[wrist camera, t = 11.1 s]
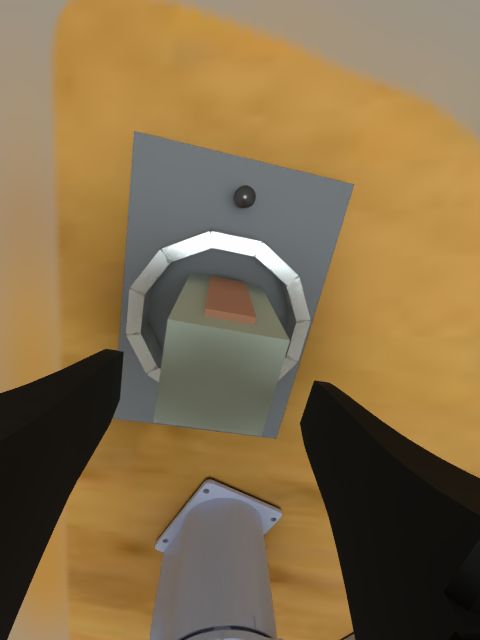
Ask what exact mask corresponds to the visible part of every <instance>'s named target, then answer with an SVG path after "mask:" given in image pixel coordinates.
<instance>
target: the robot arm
mask: <svg viewBox="0 0 480 640" xmlns="http://www.w3.org/2000/svg"><path fill="white" fill-rule="evenodd" d="M123 355H124V352H122V351H116V350H109V349H105V350H102V351H100V352H98V353H96V354H94V355H92V356H89V357H87V358H85V359H83V360H81V361H79V362H77V363H75V364H73V365H71V366H68V367H66V368H64V369H62V370H60V371H57V372H55V373H53V374H50V375H48V376H46V377H43V378H41V379H38V380H36V381H34V382H31V383H29V384H26V385H23V386H21V387H18V388H15V389H12V390H9V391H6V392H3V393H0V640H7V639H8V636H9V633H10V631H11V629H12V626H13V624H14V621H15V619H16V616H17V614H18V611H19V609H20V607H21V604H22V602H23V600H24V597H25V595H26V593H27V590H28V588H29V585H30V583H31V581H32V578H33V576H34V574H35V571H36V569H37V567H38V564H39V562H40V560H41V557H42V555H43V553H44V551H45V548H46V546H47V544H48V541H49V539H50V537H51V535H52V532H53V530H54V528H55V526H56V524H57V521H58V519H59V517H60V515H61V513H62V511H63V508H64V506H65V504H66V502H67V500H68V497H69V495H70V493H71V492H72V490H73V488H74V486H75V484H76V482H77V480H78V479H79V477H80V475H81V473H82V472H83V470H84V468H85V466H86V465H87V463H88V461H89V460H90V458H91V456H92V454H93V453H94V451H95V449H96V448H97V446H98V444H99V442H100V441H101V439H102V437H103V435H104V434H105V432H106V430H107V428H108V427H109V425H110V423H111V420H112V418H113V416H114V413H115V411H116V408H117V406H118V403H119V401H120V393H121V381H122V368H123ZM300 426H301V431H302V437H303V441H304V446H305V449H306V452H307V455H308V458H309V461H310V464H311V467H312V470H313V473H314V475H315V478H316V481H317V484H318V487H319V490H320V492H321V495H322V498H323V501H324V504H325V507H326V510H327V513H328V516H329V520H330V524H331V528H332V532H333V536H334V540H335V544H336V548H337V552H338V557H339V561H340V566H341V570H342V575H343V579H344V584H345V589H346V594H347V599H348V604H349V609H350V614H351V620H352V625H353V630H354V636H355V640H480V478H478V477H476V476H474V475H472V474H470V473H468V472H466V471H464V470H462V469H460V468H458V467H456V466H454V465H452V464H450V463H449V462H447V461H445V460H443V459H441V458H439V457H438V456H436V455H434V454H432V453H430V452H429V451H427V450H425V449H424V448H422V447H421V446H419V445H417V444H416V443H414V442H412V441H411V440H409V439H407V438H406V437H404V436H403V435H401V434H400V433H398V432H397V431H395V430H394V429H393V428H391V427H390V426H388V425H387V424H385V423H384V422H383V421H381V420H380V419H378V418H377V417H376V416H374V415H373V414H372V413H370V412H369V411H368V410H366V409H365V408H364V407H362V406H361V405H360V404H358V403H357V402H356V401H354V400H353V399H352V398H350V397H349V396H348V395H347V394H345V393H344V392H342V391H341V390H340V389H338V388H337V387H335V386H334V385H332V384H330V383H328V382H321V381H314V383H313V386H312V389H311V392H310V395H309V398H308V401H307V404H306V407H305V410H304V413H303V416H302V419H301V422H300ZM281 517H282V512H281V510H280V509H278V508H276V507H274V506H271V505H269V504H267V503H264V502H262V501H260V500H258V499H255V498H253V497H251V496H248V495H246V494H244V493H241V492H239V491H237V490H235V489H232V488H230V487H228V486H225V485H223V484H221V483H218V482H216V481H214V480H211V479H208V480H206V481H205V482H204V483H203V484H202V485H201V486H200V488H199V489H198V490H197V491H196V493H195V494H194V495H193V496H192V498H191V499H190V500H189V501H188V503H187V504H186V505H185V506H184V508H183V509H182V510H181V511H180V513H179V514H178V515H177V516H176V518H175V519H174V520H173V521H172V523H171V524H170V525H169V526H168V528H167V529H166V530H165V531H164V533H163V534H162V535H161V536H160V537H159V539H158V540H157V541H156V543H155V549H156V550H158V551H161V552H164V553H163V559H162V565H161V571H160V577H159V582H158V588H157V594H156V600H155V606H154V612H153V618H152V624H151V630H150V640H282V639H277V633H276V625H275V617H274V610H273V602H272V594H271V587H270V579H269V571H268V563H267V556H266V548H265V540H264V535H265V534H266V533H267V532H268V531H269V530H270V528H271V527H272V526H273V525H274V524H275V523H276V522H277V521H278V520H279V519H280V518H281Z"/></svg>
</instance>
